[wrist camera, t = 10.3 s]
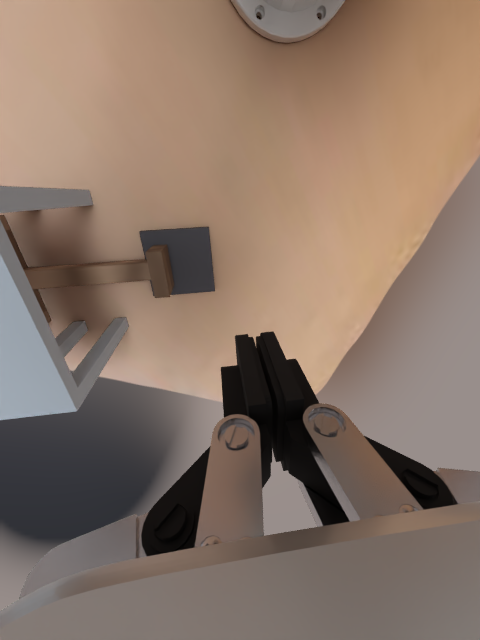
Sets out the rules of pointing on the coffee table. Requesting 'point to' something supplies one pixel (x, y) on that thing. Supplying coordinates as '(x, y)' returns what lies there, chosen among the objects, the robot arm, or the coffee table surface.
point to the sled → (100, 272)
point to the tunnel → (41, 327)
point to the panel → (185, 257)
